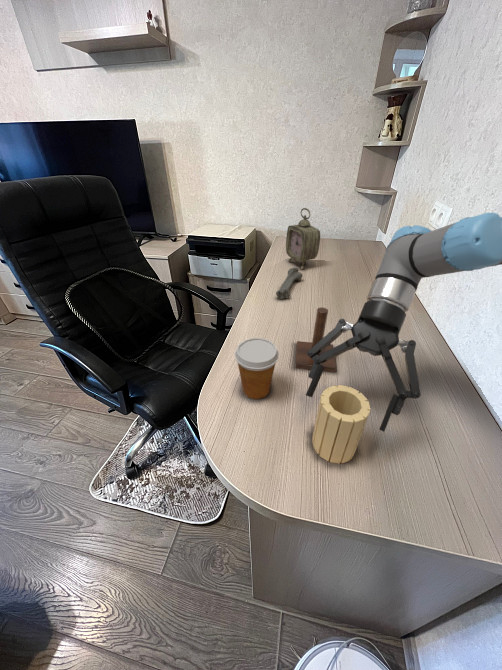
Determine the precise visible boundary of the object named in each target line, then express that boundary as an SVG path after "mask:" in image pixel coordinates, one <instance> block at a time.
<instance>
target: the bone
mask: <svg viewBox="0 0 502 670" xmlns="http://www.w3.org/2000/svg"><path fill="white" fill-rule="evenodd" d="M302 279H303V273H302V272H301V271H300V272H299V269H298V268H297V267H291V268H289V269H288V270H287V275H286V277H285V280H284V281H283V282H282V284H281V286H280V287H279V289H278V290H276V292H275V295H276V297H277V299H278V300H283V299H288V298H290V295H291V294H290V289H291V286H292V285H293V283H294V281H295V280H297V282H300V281H301V280H302Z"/></svg>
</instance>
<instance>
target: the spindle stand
mask: <svg viewBox="0 0 502 670" xmlns="http://www.w3.org/2000/svg"><path fill="white" fill-rule="evenodd" d="M328 313H329V309H328V308H326V307H323V306H322V307H318V308H317V309H316V315H315V321H314V328H313V335H312V341H311V342H310V341H301V340H298V341H296V348H295V349H296V350H295V369H301V370H309V371H310V370H311V368H312V365H313V359H312V358H310V357H309V356H308V354H307V352H308V351H309V350H310V349H311V348H312V347H314V346H315V345H316V344H317V343H318V342H319V341H320V340H322V339H323V338H324V337H325V330H326V326H327V320H328ZM332 348H334V344H332V343H331V344H330V345H329V346H327V347H326V348H325V349H324V350H323V351H322V352H321V353H319V354H318V355H317V356H319V355H321V354H323V353H325V352H327V351H328V350H330V349H332ZM336 364H337V363H336V357H334V358H332V359H330V360H328V361H326V362H325V363H323V364H322V365H323V366H324V367H325V368H324V370H323V372H329V373H336V370H337V365H336Z"/></svg>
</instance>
